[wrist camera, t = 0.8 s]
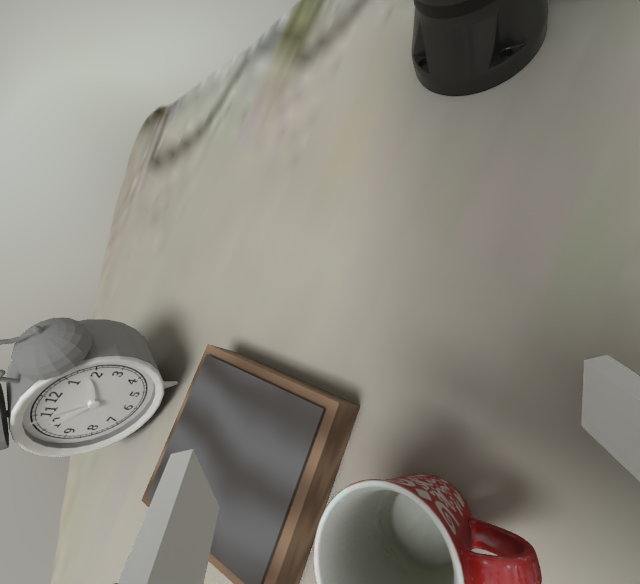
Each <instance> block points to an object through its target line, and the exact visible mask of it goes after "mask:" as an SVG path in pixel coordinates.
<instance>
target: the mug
mask: <svg viewBox="0 0 640 584" xmlns="http://www.w3.org/2000/svg"><path fill="white" fill-rule="evenodd" d="M473 548H479V549H484V550H487V551H489V552H492V553H494V554H496V555H498V556H493V555H486V554H480V553H475V552H473V551H471V550H472V549H473ZM314 570H315V577H316V582H317V584H541V582H542V576H541V570H540V566H539V562H538V558H537V555H536V552H535V550H534V548H533V546H532V545H531V544H530V543H529V542H527V541H526V540H525V539H523V538H522V537H520V536H518V535H516V534H514V533H512V532H510V531H507V530H505V529H503V528H500V527H497V526H495V525H492V524H489V523H486V522H483V521H479V520H476V519H473V518H472V515H471V512H470V510H469V507H468V505H467V503H466V501H465V500H464V498H463V497H462V496H461V494H460V493H459V492H458V491H457V490H456V489H455V488H454V487H453V486H452V485H451V484H449V483H448V482H446V481H445V480H443V479H441V478H439V477H436V476H433V475H426V474H418V475H412V476H406V477H400V478H395V479H387V480H380V479H370V480H363V481H359V482H356V483H353V484H351V485H349V486H347V487H346V488H344V489H343V490H341V491H340V492H339V493H337V494H336V495H335V496H334V498H333V499H332V500H331V501H330V503H329V504H328V506H327V507H326V509H325V511H324V513H323V515H322V517H321V519H320V522H319V525H318V528H317V532H316V536H315V543H314Z"/></svg>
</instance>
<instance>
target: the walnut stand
mask: <svg viewBox="0 0 640 584" xmlns="http://www.w3.org/2000/svg"><path fill="white" fill-rule="evenodd" d="M359 408H360V406H358V405H356V404H354V403H351V402H349V401H347V400H345V399H342V398H340V397H338V396H335V395H333V394H331V393H329V392H326V391H324V390H322V389H319V388H317V387H315V386H313V385H310V384H308V383H306V382H303V381H301V380H299V379H296V378H294V377H292V376H290V375H287V374H285V373H283V372H280V371H278V370H276V369H274V368H271V367H269V366H267V365H264V364H262V363H260V362H258V361H255V360H253V359H251V358H248V357H246V356H244V355H242V354H239V353H237V352H233V351H230V350H226V349H223V348H219V347H216V346H212V345H209V344H208V345H207V348H206V350H205V352H204V355H203V357H202V359H201V362H200V364H199V366H198V369H197V371H196V373H195V376H194V378H193V381H192V383H191V385H190V388H189V390H188V392H187V395H186V397H185V399H184V402H183V404H182V406H181V409H180V411H179V413H178V416H177V418H176V421H175V423H174V425H173V428H172V430H171V432H170V435H169V437H168V439H167V442H166V444H165V446H164V449H163V451H162V453H161V456H160V458H159V461H158V463H157V465H156V468H155V470H154V472H153V475H152V477H151V479H150V482H149V484H148V486H147V489H146V491H145V493H144V496H143V498H142V501H143V502H144V503H145V504H146V505H147V506H148V507H149V506H150V504H151V501H152V499H153V496H154V494H155V491H156V489H157V487H158V484H159V482H160V479H161V477H162V474H163V472H164V470H165V467H166V465H167V462H168V460H169V457H170V455H171V454H173V453H178V452H182V451H186V450H191V449H193V450H194V452H195V454H196V456H197V459H198V461H199V463H200V465H201V467H202V469H203V472H204V474H205V476H206V478H207V480H208V483H209V485H210V487H211V489H212V491H213V493H214V496H215V498H216V500H217V502H218V504H219V512H218V517H217V522H216V526H215V531H214V536H213V540H212V545H211V550H210V554H209V559H208V561H209V562H210V563H211V564H213V565H214V566H215V567H216V568H217V569H218V570H219V571H220V572H221V573H223V574H224V575H225V576H226V577H227V578H228V579H229V580H230V581H231V582H233V583H234V584H299V582H300V579H301V576H302V573H303V570H304V568H305V565H306V562H307V559H308V556H309V553H310V550H311V547H312V544H313V541H314V539H315V536H316V532H317V528H318V525H319V522H320V519H321V517H322V515H323V512H324V510H325V507H326V504H327V501H328V498H329V495H330V492H331V489H332V486H333V483H334V480H335V478H336V475H337V472H338V469H339V466H340V463H341V460H342V457H343V454H344V451H345V449H346V446H347V443H348V440H349V437H350V434H351V431H352V428H353V425H354V422H355V420H356V417H357V414H358V411H359Z"/></svg>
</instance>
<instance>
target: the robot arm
mask: <svg viewBox="0 0 640 584" xmlns="http://www.w3.org/2000/svg"><path fill="white" fill-rule="evenodd" d="M414 4H415V16H414V28H413V40H412V60H413V64H414V68H415V71H416V75H417V77H418V79H419V81H420V82H421V83H422V84H423V85H424V86H425V87H426V88H428V89H429V90H431V91H433V92H436V93H439V94H444V95H466V94H472V93H476V92H480V91H483V90H486V89H489V88H491V87H493V86H496V85H498V84H500V83H502V82H503V81H505V80H507V79H509V78H510V77H512V76H513V75H515V74H516V73H517V72H519V71H520V70H521V69H522V68H523V67H524V66H525V65H527V64H528V62H529V61H530V60H531V59H532V58H533V57H534V56H535V54H536V53H537V52H538V50H539V48H540V47H541V45H542V43H543V41H544V38H545V35H546V30H547V17H548V5H547V0H414ZM581 426H582V427H583V428H584V429H585V430H586V431H587V432H588V433H589V434H590V435H591V436H592V437H593V438H594V439H595V440H596V441H597V442H598V443H599V444H601V445H602V446H603V447H604V448H605V449H606V450H607V451H608V452H609V453H610V454H611V455H612V456H613V457H614V458H615V459H616V460H617V461H618V462H619V463H620V464H621V465H622V466H623V467H624V468H625V469H627V470H628V471H629V472H630V473H631V474H632V475H633V476H634V477H635V478H636V479H637V480H638V481H639V482H640V376H639V375H638V374H636V373H635V372H633V371H632V370H630V369H629V368H627V367H626V366H624V365H622V364H621V363H619V362H618V361H616V360H615V359H613V358H612V357H610V356H609V355H604V356H599V357H595V358H590V359H586V360H584V371H583V395H582V419H581ZM218 512H219V504H218V502H217V500H216V498H215V496H214V493H213V491H212V489H211V487H210V485H209V483H208V480H207V478H206V476H205V474H204V472H203V469H202V467H201V465H200V463H199V461H198V459H197V456H196V454H195V452H194V450H193V449H191V450H186V451H182V452H178V453H173V454H171V455H170V457H169V460H168V462H167V465H166V467H165V470H164V472H163V474H162V477H161V479H160V482H159V484H158V487H157V489H156V491H155V494H154V496H153V499H152V501H151V504H150V506H149V509H148V511H147V513H146V516H145V518H144V521H143V523H142V526H141V528H140V530H139V533H138V535H137V538H136V540H135V543H134V545H133V548H132V550H131V552H130V555H129V557H128V560H127V562H126V565H125V567H124V569H123V572H122V574H121V577H120V579H119V582H118V583H116V584H203V583H204V578H205V573H206V569H207V564H208V559H209V554H210V550H211V545H212V540H213V536H214V531H215V526H216V522H217V517H218Z"/></svg>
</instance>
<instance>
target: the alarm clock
mask: <svg viewBox="0 0 640 584" xmlns="http://www.w3.org/2000/svg"><path fill="white" fill-rule="evenodd" d="M14 342H16V343H15V345H14V348H13V352H12V357H11V358H12V362H11V364H10V365H9V367H8V373H7V377H2V376H3V375H4V374H5V371H4V370H0V381H4V382H6V385H7V401H8V410H7V411H6V408H5V400H4V395H3V390H2V387H1V384H0V450H2V449H6V448H8V447H9V433H8V422H7V417H9V429H10V432H11V435H12V438H13V440H14V441H15V442H16V443H17V444H18V445H19V446H20V447H22V448H23V449H24V450H27V451H29V452H32V453H35V454H37V455H44V456H54V457H59V456H74V455H78V454H83V453H88V452H92V451H95V450H98V449H101V448H104V447H106V446H109V445H112V444H113V443H115V442H117V441H119V440H121V439H123V438H125V437H127V436H129V435H130V434H131V433H135V432H136V430H137V429H139V428H140V427H141V426H142V425H144V424H145V423H146V422H147V421H148V420H149V419H150V418H151V417H152V416H153V414H154V413H155V412H156V410H157V409H158V407H159V406H160V404H161V401H162V398H163V396H164V389H165V388H168V387H171V386H174V385H177V384H178V382H177V381H163V379H162V377H161V374H160V372H159V370H158V367H157V365H156V363H155V360H154V358H153V356H152V353H151V351H150V349H149V347H148V344H147V342H146V340H145V338H144V337H143V336H142V335H141V334H140V333H139V332H138V331H137V330H136V329H134V328H132V327H130V326H128V325H126V324H124V323H121V322H116V321H111V320H82V321H76V320H73V319H70V318H53V319H49V320H45V321H42V322H40V323H38V324H36V325H34V326H32V327H30V328H29V329H28V330H27V331H25V332H24V333H23V334H22V335H21V336H20V337H16V338H12V339H6V340H0V345H1V344H9V343H14Z"/></svg>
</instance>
